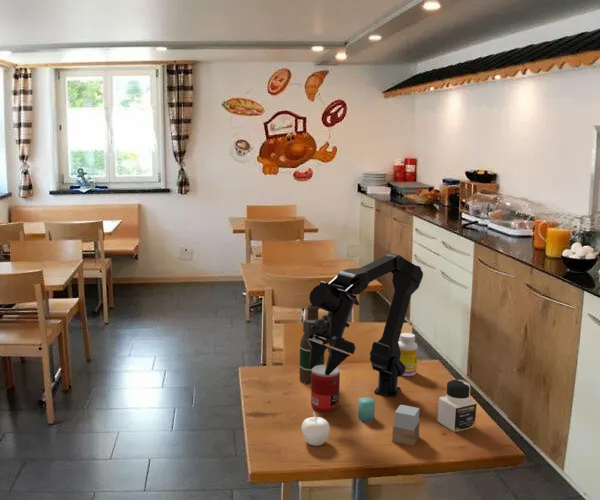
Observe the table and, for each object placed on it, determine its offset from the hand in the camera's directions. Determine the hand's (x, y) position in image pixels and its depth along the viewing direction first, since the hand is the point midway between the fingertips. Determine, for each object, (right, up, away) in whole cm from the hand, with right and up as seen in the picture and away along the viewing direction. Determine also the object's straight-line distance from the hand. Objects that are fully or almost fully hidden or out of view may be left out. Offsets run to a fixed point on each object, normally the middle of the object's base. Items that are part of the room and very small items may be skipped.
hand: (318, 371), depth 173 cm
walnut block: (+22, -16, -7) cm, 28 cm away
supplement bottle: (+29, -8, +37) cm, 48 cm away
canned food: (+2, -12, +11) cm, 17 cm away
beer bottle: (-1, -8, +30) cm, 31 cm away
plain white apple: (-1, -16, -10) cm, 19 cm away
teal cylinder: (+13, -14, +4) cm, 19 cm away
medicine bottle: (+37, -15, +1) cm, 40 cm away
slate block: (+22, -12, -8) cm, 27 cm away
